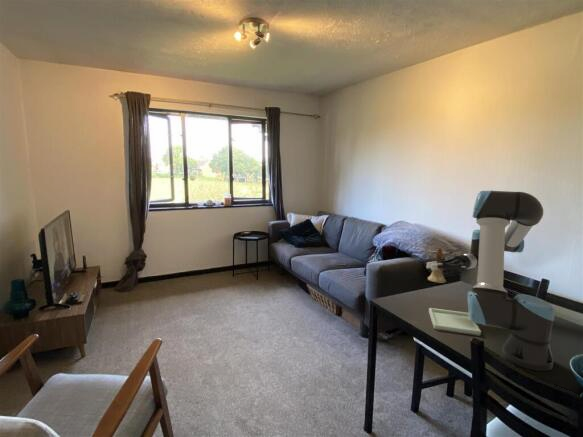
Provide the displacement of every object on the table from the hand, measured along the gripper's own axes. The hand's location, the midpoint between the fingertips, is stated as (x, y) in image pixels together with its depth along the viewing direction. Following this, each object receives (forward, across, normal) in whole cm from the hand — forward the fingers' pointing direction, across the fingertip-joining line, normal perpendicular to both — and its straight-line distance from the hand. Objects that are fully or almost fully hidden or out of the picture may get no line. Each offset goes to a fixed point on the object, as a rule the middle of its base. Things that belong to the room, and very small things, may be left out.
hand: (429, 266), depth 153 cm
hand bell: (-6, 0, -8) cm, 9 cm away
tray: (-3, -14, -23) cm, 27 cm away
